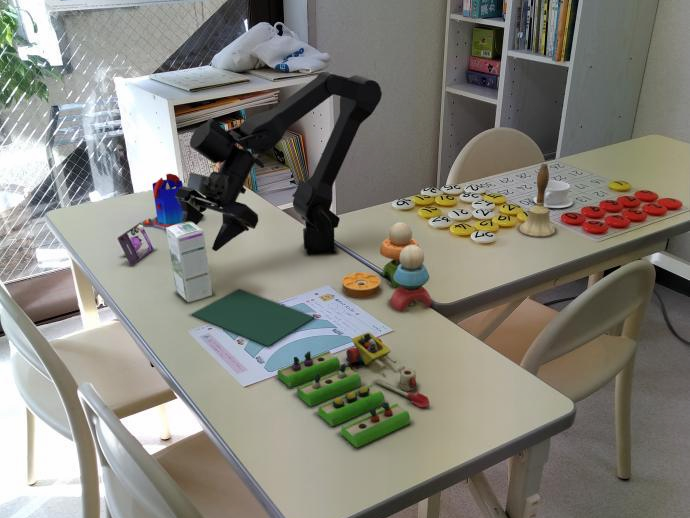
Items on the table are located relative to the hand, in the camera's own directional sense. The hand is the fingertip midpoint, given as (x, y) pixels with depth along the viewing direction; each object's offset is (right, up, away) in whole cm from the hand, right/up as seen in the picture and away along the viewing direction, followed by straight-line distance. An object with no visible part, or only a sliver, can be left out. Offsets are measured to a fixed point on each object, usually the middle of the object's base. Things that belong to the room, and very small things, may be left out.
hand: (197, 244), depth 148 cm
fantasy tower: (-14, +11, +37) cm, 41 cm away
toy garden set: (+32, -28, -26) cm, 50 cm away
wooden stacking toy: (+38, -10, +2) cm, 40 cm away
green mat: (+12, -15, -5) cm, 19 cm away
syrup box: (-1, -10, +4) cm, 10 cm away
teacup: (+83, +17, +44) cm, 96 cm away
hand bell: (+75, +7, +29) cm, 81 cm away
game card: (-18, 0, +20) cm, 27 cm away
